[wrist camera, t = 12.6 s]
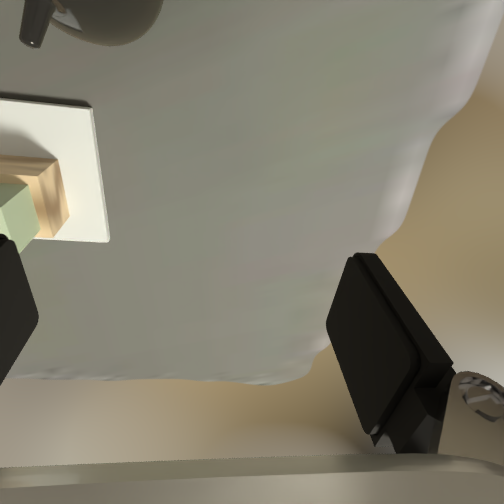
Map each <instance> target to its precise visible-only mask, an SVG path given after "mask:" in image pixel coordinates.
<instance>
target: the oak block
mask: <svg viewBox="0 0 504 504" xmlns="http://www.w3.org/2000/svg"><path fill="white" fill-rule="evenodd" d="M0 183H8V184H24V185H29V189H30V192H31V196H32V199H33V203H34V207H35V210H36V214H37V217H38V221H39V224H40V228H41V230H40V231H39V232H38V233H37V234H36V235H35V237H41V238H53V237H54V236H55V235H56V234H57V232H58V231H59V230H60V228H61V227H62V226H63V225H64V223H65V222H66V221H67V219H68V218H69V217H70V214H69V209H68V205H67V200H66V195H65V190H64V185H63V181H62V176H61V171H60V166H59V161H58V159H48V158H36V157H24V156H12V155H1V154H0Z"/></svg>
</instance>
